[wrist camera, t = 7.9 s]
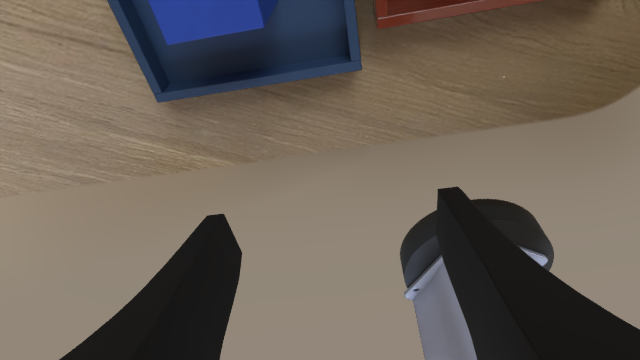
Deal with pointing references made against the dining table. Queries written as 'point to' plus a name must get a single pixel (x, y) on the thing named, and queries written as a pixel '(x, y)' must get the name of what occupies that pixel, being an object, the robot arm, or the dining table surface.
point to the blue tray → (244, 49)
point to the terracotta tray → (431, 9)
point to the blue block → (209, 17)
